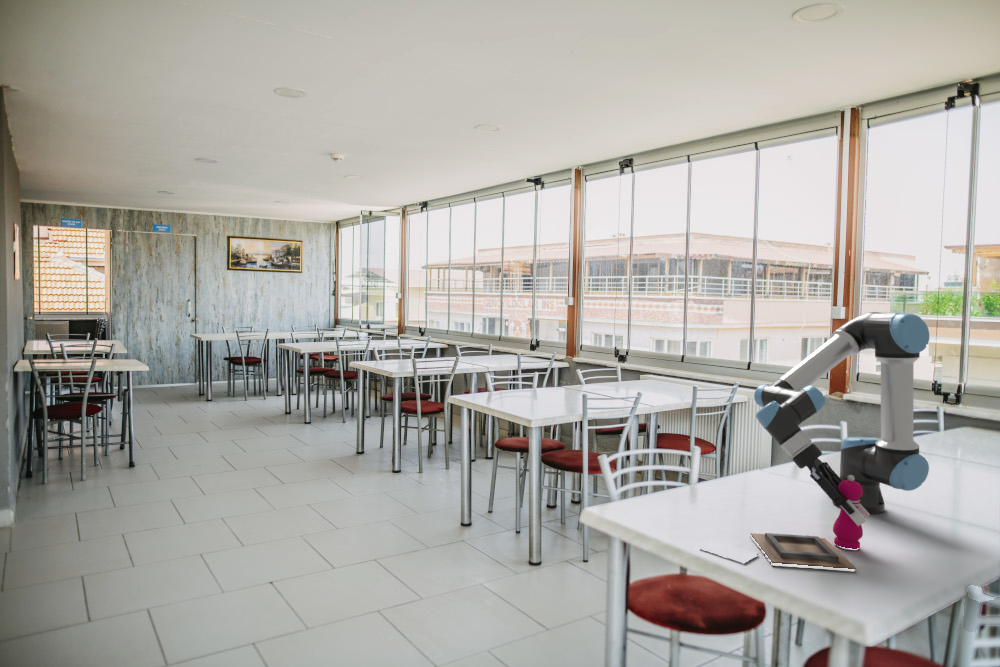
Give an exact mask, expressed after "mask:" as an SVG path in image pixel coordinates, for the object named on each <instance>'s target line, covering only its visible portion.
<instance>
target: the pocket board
mask: <svg viewBox="0 0 1000 667" xmlns="http://www.w3.org/2000/svg"><path fill="white" fill-rule="evenodd" d="M751 535H752V537H753V538H754V539H755V541H756V542H757V543H758V544H759V546H760V547H761V549H762V550H763V551H764V552H765V554H766V555H767V556H768V558H769V559H770V560H771V562H772V563H782V564H797V565H808V566H823V567H833V568H848V569H856V570H857V567H856V566H855V565H854V564H853V563H852V562H851V561H850V560H848V558H847V557H845V556H844V555H843V554H842V553H841V552H840V551H839V550H838V549H837V547H836V546H835V545H832V543H831V542H829V540H828V539H826V538H824V537H820V536H814V535H804V534H803V535H801V534H788V533H787V534H785V533H771V532H765V533H753V532H750V536H751Z"/></svg>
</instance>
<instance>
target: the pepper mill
mask: <svg viewBox="0 0 1000 667" xmlns="http://www.w3.org/2000/svg"><path fill="white" fill-rule="evenodd" d="M847 479H848V480H844V481H842V482H840V484H839V486H838V489H839V490H840V491H841V492H842V494H843V495H844V496H845V498H846V499H847V500H850V501H851V503H852V504H853V505H854V506H855V507H856V508H857V509H858V506H859V505H860V500H859V498H860V497H861V496H862V494H863V489H862V486H861V485H860V484H859V483H858V482H856V481H854V480H855V478H854V476H853V475H849V476H848V477H847ZM863 530H864V529H863V526H862V524H861V525H859V526H858V525H857V524H856V523H855V522H854V521H853V520H852V519H851V517H850V516H849V515H848V514H847V513H846V512H845V511H844V510H843V508H842V507H841V508H840V511H839V514H838V517H837V518H836V519H835V521H834V523H833V527H832V532H833V534H834V535H835V537H834V539H833V544H834V543H835V544H836V545H838V546H841V547H845V548H852V549H857V548H860V549H861V542H860V541H859V540H861V539H862V538H863V536H864V535H863V534H864V532H863Z"/></svg>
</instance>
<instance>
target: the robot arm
mask: <svg viewBox="0 0 1000 667" xmlns="http://www.w3.org/2000/svg"><path fill="white" fill-rule="evenodd" d="M929 342H930V330H929V327H928V325H927V323H926V322H925V320H923V319H922V318H921V317H920V316H918V315H916V314H913V313H906V312H881V311H880V312H878V311H871V312H866V313H863V314H860V315H857V316H855V317H853V318H852V319H850V320H848V321H847V322H845V323H844V324H842V325H840V326H839V327H838V328H837V329H835V330H834V331H833V332H832V333H831V337H830V338H829V339H828V340H827V341H825V342H824V343H823V344H821V345H820V346H819V347H818V348H817V349H815V350H814V351H813V352H811V353H810V354H809V355H808V356H805V358H804V359H802V360H801V361H799V362H798V363H796V365H795V366H793V367H791V369H789V370H788V371H787V372H785V373H784V374H783V375H782V376H781V377H778V379H776V380H775V381H774V382H772V383H771V384H769V383H767V384H760V385H758V387H756V389H755V391H754V394H753V396H754V397H753V398H754V401H755V403H756V404H757V406H759V407H761V409H760V410H759V411H757V413H756V415H755V417H756V420H757V421H758V422H759V424H761V426H762V427H763V429H764V430H766V431H767V433H768V434H769V435H770V436H771V437H772V438H773V440H774V441H775V442H777V444H778V445H779V446H780V448H782V449H781V451H782V452H785V453H786V454H787V455H788V456H789V457H792V461H793V462H794V464H795V465H796V466H797V467H798V468H799V469H804V468H805V467H807V469H808V470H809V471H810V474H809V477H810V478H811V479H812V480H813V481H814V482H815V484H817V485H818V486H819V488H821V490H822V491H823V492H824V494H826V495H827V497H828V498H829V499H830V500H831V501H832V504H833V505H835V507H837V508H840V509H841V507H842V508H843V510H844V511H845V512H846V513H847V514H848V515H849V516H850V517H851V519H852V520H853V521H854V522H855V523H856V524H857V525H858V526H859V525H861V526H862V525H863V524H864V523H866V522H867V521H868V520H867V518H868V517H869V516H870V515H871V514H881V513H884V512H885V506H886V505H885V500H884V497H883V494H882V490H881V484H884V485H886V486H889V487H891V488H893V489H896V490H902V491H906V492H908V491H914V490H917V489H918V488H919V487H921V486H922V485H923V483H925V481H926V479H927V477H928V475H929V470H930V465H929V461H927V459H926V457H924V456H923V455H922V454H920V445H919V444H918V442H916V441H915V440H914V363H915V362H916V361H918V359H919V358H920V357H921V356H920V353H921V352H923V351H924V350H926V348H927V345H929ZM869 349H873V350H874V357H875V359H877V360H878V361H879V362H880V438H879V437H871V436H870V437H867V436H866V437H865V436H864V437H863V436H850V437H849V436H847V437H845V438H843V439H842V442H841V448H840V464H839V465H840V467H839V469H840V471H839V475H838V474H837V473H836V472H835V470H833V468H831V466H830V465H829V463H828V462H826V461H825V462H824V461H821V459H819V457H821V456H822V454H823V452H822V451H821V450H820V449H819V447H818V446H817V445H816V444H815V443H811V442H812V439H811V438H810V437H809V436H808V435H807V434H806V433H805V432H804V431H803V429H801V427H800V426H799V425H800V424H802V423H803V422H805V421H806V420H807V419H809V418H810V417H812V416H813V415H815V414H817V413H818V412H819V411H820V410H821V409H823V407H824V406H825V405H826V398H825V395H824V394H823V393H822V391H821V390H820V389H819V388H817V387H815V386H813V384H814V383H816V382H817V381H818V380H819V379H821V378H822V377H823V376H825V375H826V374H827V373H829V372H830V371H832V369H834V368H835V367H836V366H837V365H839V364H840V363H841V362H843V361H844V360H845V359H846V358H848V357H849V356H855V355H857V354H858V353H859V352H862V351H864V350H869ZM849 475H853V476H854V478H855V480H854V481H856V482H858V483H859V484H860V485H861V486H862V489H863V494H862V496H861V497H860V498H859V500H860V505H859V506H858V509H857V508H856V507H855V506H854V505H853V504H852V503H851V501H850V500H847V499H846V498H845V496H844V495H843V494H842V492H841V491H840V490H839V489H838V486H839V484H840V482H842V481H844V480H848V479H847V477H848V476H849Z"/></svg>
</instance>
